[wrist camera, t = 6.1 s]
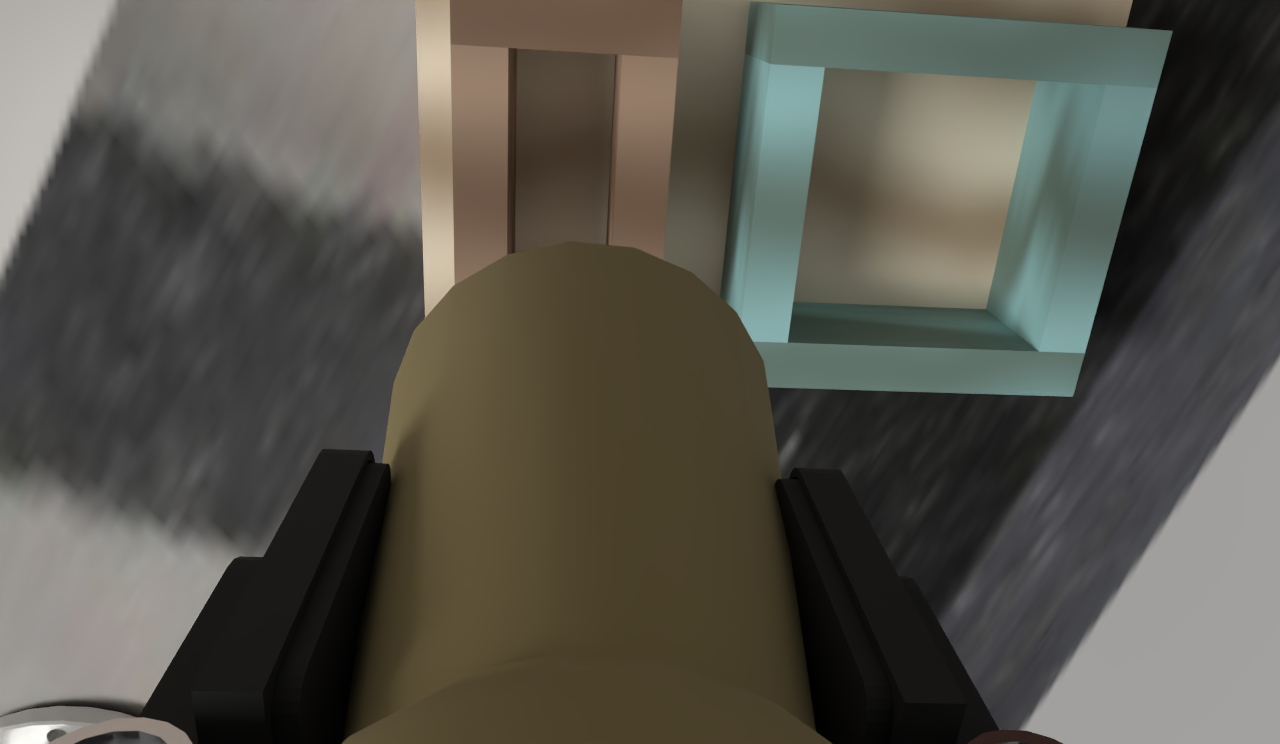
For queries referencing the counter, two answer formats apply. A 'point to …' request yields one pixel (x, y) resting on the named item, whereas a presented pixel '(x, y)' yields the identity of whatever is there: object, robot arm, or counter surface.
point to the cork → (581, 520)
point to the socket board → (806, 167)
